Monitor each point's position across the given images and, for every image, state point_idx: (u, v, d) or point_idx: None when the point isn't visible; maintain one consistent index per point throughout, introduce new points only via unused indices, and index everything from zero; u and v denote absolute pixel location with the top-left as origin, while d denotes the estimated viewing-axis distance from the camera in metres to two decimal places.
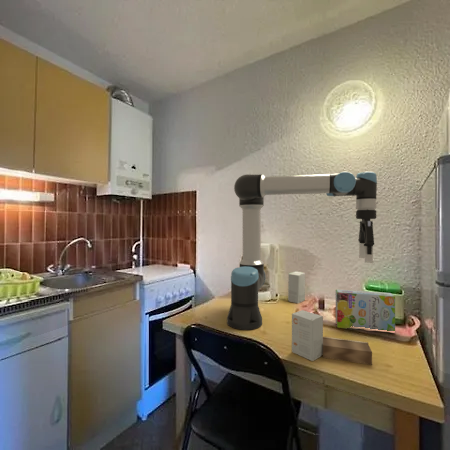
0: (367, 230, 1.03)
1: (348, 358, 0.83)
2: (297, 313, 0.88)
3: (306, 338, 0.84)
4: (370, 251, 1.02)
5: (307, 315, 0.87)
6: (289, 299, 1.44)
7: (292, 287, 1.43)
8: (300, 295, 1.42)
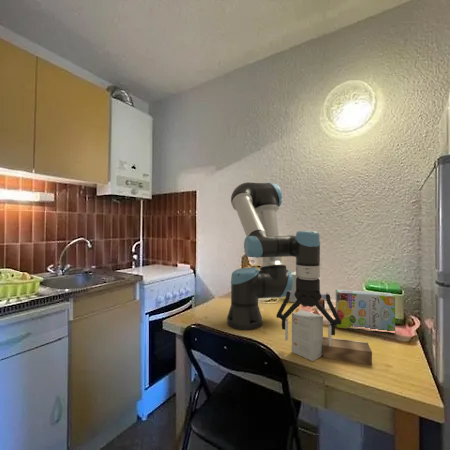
0: None
1: (348, 358, 0.83)
2: (297, 313, 0.88)
3: (306, 338, 0.84)
4: None
5: (307, 315, 0.87)
6: (289, 299, 1.44)
7: (292, 287, 1.43)
8: None
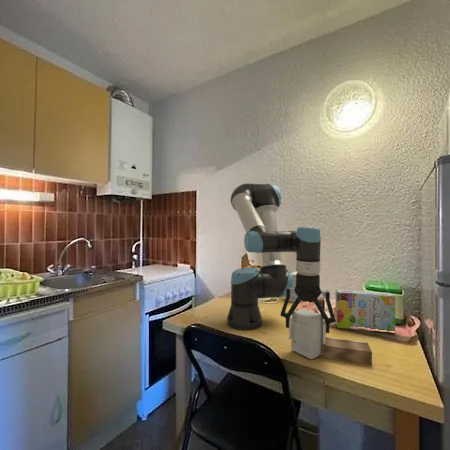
0: (285, 298, 0.90)
1: (348, 358, 0.83)
2: (298, 312, 0.88)
3: (306, 336, 0.84)
4: None
5: (307, 313, 0.87)
6: (289, 299, 1.44)
7: (292, 287, 1.43)
8: None
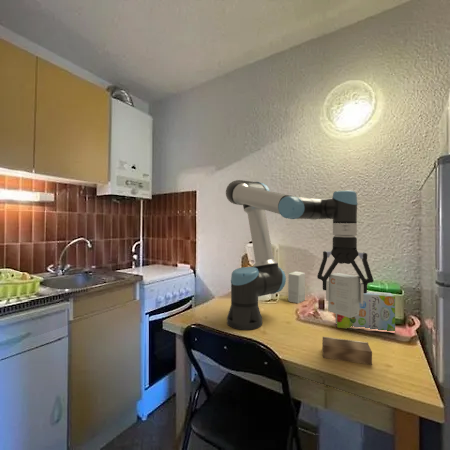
0: None
1: (348, 358, 0.83)
2: (335, 274, 0.91)
3: (344, 296, 0.87)
4: None
5: (344, 275, 0.90)
6: (289, 299, 1.44)
7: (292, 287, 1.43)
8: (300, 295, 1.42)
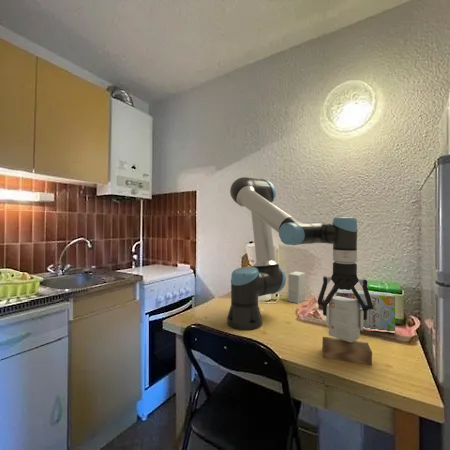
0: (322, 287, 0.93)
1: (348, 358, 0.83)
2: (334, 298, 0.92)
3: (345, 320, 0.87)
4: (323, 311, 0.92)
5: (343, 299, 0.90)
6: (289, 299, 1.44)
7: (292, 287, 1.43)
8: (300, 295, 1.42)
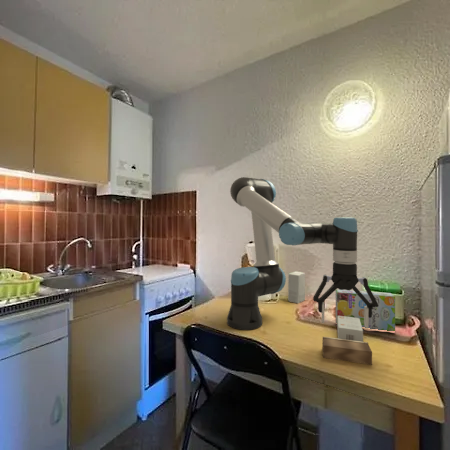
0: (320, 284, 0.93)
1: (348, 358, 0.83)
2: None
3: (355, 323, 0.98)
4: (318, 308, 0.92)
5: None
6: (289, 299, 1.44)
7: (292, 287, 1.43)
8: (300, 295, 1.42)
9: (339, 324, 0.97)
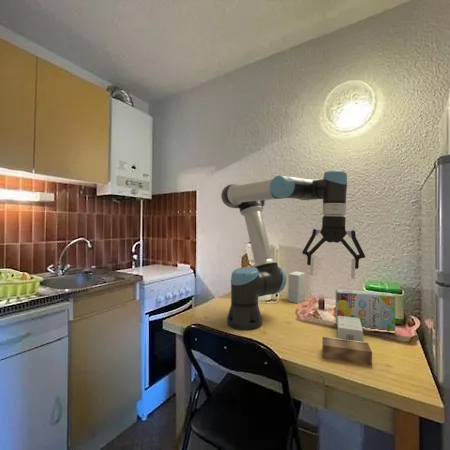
0: None
1: (348, 358, 0.83)
2: None
3: (355, 323, 0.98)
4: None
5: None
6: (289, 299, 1.44)
7: (292, 287, 1.43)
8: (300, 295, 1.42)
9: (339, 324, 0.96)
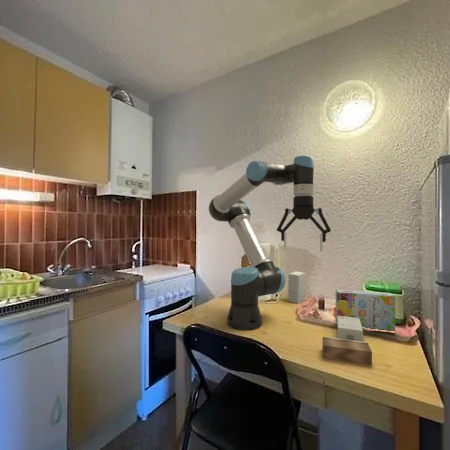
0: None
1: (348, 358, 0.83)
2: None
3: (355, 323, 0.98)
4: None
5: None
6: (289, 299, 1.44)
7: (292, 287, 1.43)
8: (300, 295, 1.42)
9: (339, 324, 0.96)
